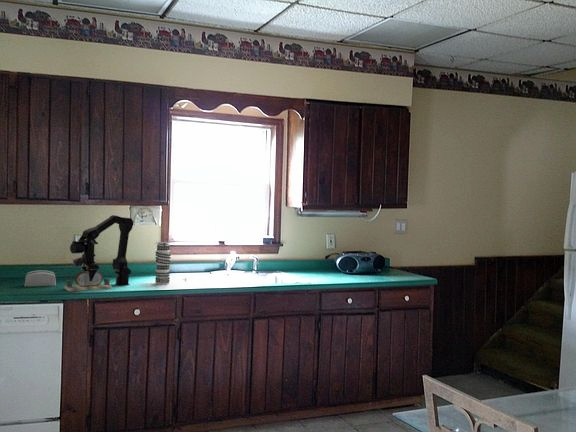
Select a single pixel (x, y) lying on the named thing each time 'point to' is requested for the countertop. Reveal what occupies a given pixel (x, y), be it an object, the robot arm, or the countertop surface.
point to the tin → (83, 279)
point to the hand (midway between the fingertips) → (88, 280)
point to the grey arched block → (40, 278)
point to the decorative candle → (162, 263)
